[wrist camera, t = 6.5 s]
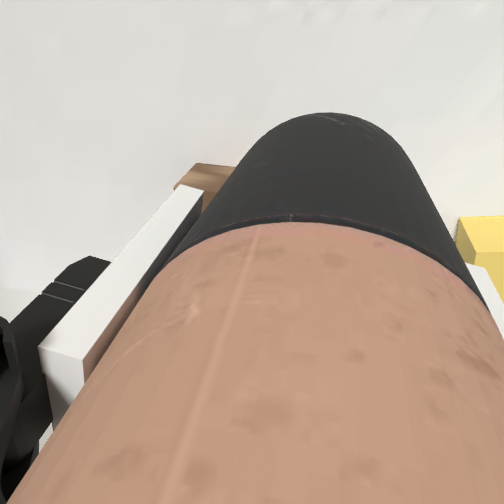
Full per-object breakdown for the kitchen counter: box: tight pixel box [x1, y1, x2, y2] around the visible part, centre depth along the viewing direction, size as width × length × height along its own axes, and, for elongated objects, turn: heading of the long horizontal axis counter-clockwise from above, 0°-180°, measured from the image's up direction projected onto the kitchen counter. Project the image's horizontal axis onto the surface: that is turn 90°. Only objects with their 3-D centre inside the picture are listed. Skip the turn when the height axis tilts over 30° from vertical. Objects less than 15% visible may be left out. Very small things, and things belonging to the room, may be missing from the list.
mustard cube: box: [455, 216, 504, 304], centre depth 28 cm, size 5×5×5 cm
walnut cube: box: [174, 163, 236, 214], centre depth 30 cm, size 5×5×5 cm
